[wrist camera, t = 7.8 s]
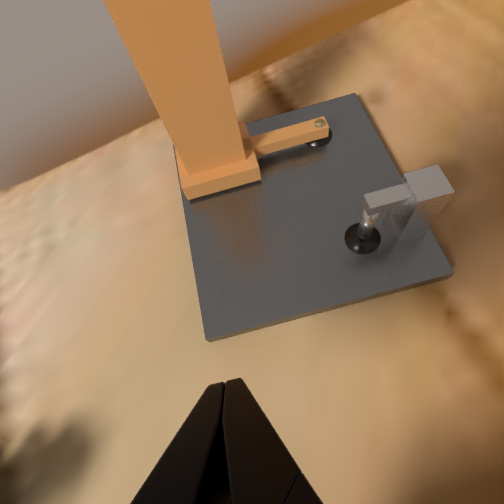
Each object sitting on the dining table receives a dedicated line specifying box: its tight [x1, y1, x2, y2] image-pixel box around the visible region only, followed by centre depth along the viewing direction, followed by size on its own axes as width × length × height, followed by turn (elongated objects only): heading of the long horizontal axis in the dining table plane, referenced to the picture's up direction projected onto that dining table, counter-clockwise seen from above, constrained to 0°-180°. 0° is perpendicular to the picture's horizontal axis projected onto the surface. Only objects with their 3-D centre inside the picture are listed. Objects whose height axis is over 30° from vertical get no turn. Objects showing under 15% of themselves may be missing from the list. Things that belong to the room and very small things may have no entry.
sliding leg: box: [103, 0, 329, 200], centre depth 20 cm, size 5×12×16 cm, turn 103°
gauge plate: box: [173, 93, 455, 342], centre depth 24 cm, size 18×16×6 cm
